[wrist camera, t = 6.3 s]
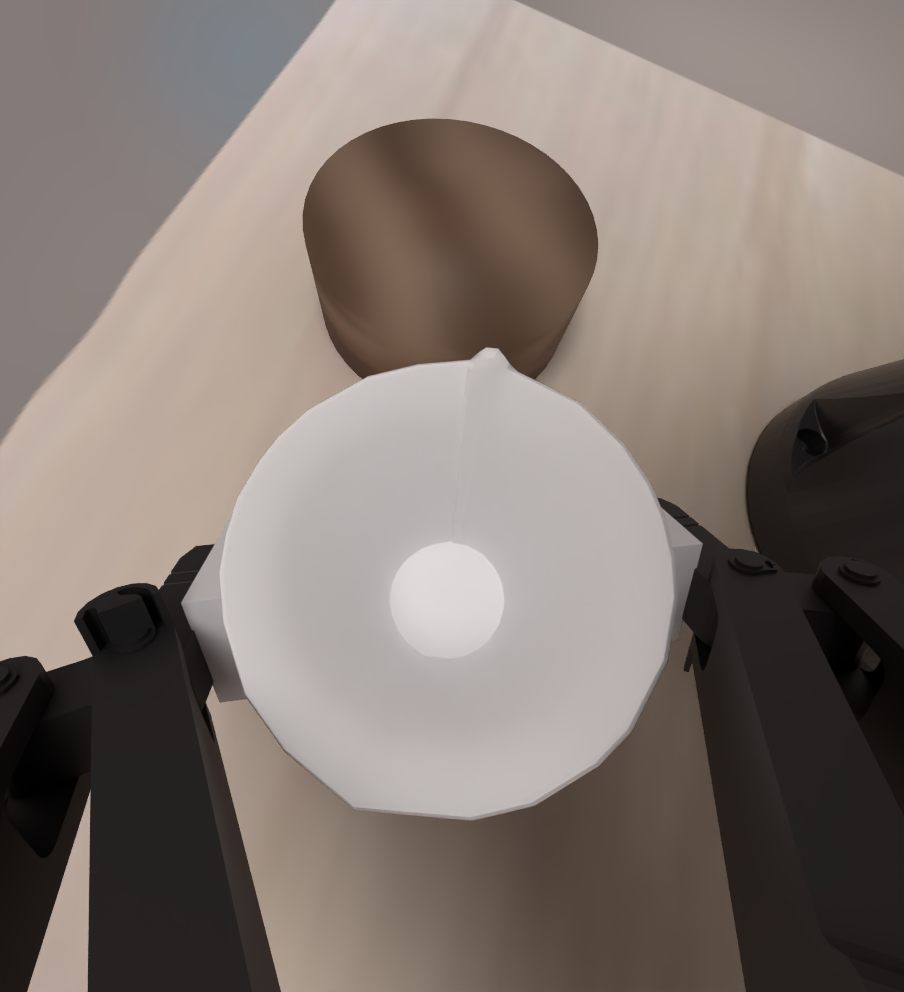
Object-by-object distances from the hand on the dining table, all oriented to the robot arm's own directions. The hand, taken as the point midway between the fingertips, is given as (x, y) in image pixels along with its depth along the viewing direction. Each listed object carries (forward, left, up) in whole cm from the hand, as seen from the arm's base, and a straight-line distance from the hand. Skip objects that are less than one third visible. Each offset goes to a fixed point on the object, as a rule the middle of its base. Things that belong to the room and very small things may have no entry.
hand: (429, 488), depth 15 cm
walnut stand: (-5, -12, -6) cm, 14 cm away
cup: (+1, +3, -4) cm, 5 cm away
